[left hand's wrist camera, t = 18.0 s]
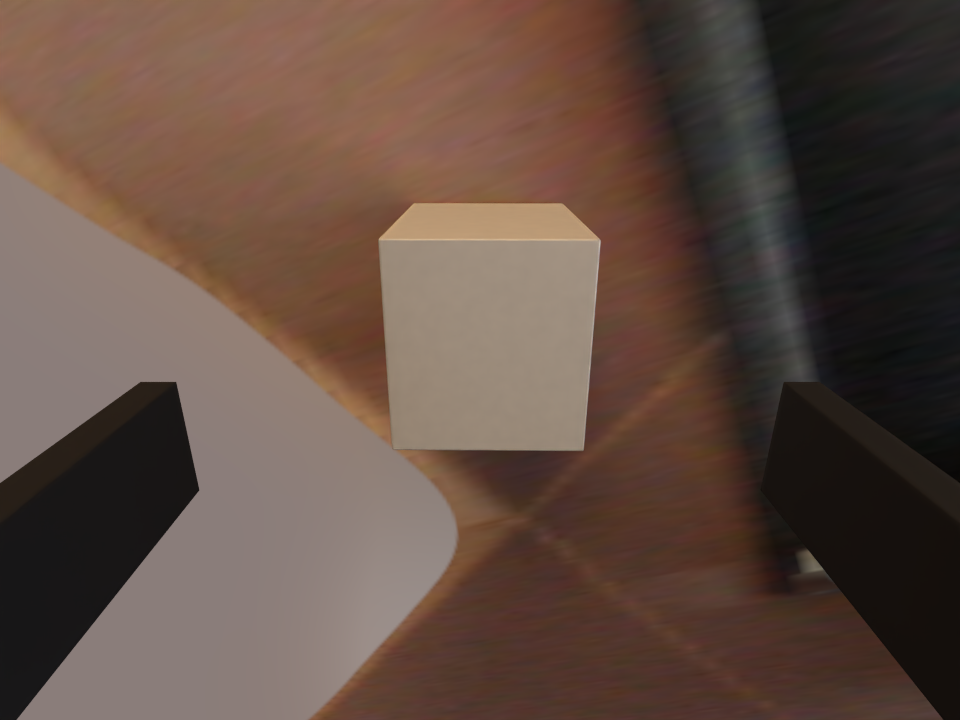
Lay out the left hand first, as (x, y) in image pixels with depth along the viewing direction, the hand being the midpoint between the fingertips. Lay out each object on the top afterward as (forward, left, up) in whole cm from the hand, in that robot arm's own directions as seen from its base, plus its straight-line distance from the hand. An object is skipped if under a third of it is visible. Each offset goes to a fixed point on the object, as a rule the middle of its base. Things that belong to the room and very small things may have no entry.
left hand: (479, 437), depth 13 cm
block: (0, 0, -12) cm, 12 cm away
